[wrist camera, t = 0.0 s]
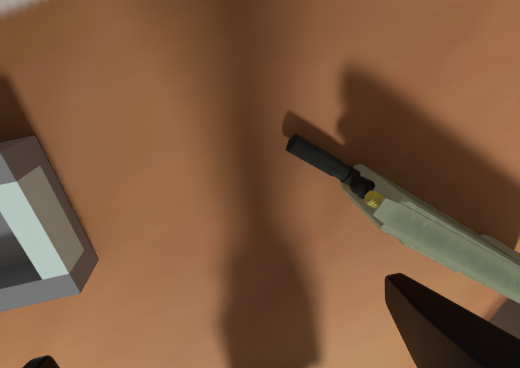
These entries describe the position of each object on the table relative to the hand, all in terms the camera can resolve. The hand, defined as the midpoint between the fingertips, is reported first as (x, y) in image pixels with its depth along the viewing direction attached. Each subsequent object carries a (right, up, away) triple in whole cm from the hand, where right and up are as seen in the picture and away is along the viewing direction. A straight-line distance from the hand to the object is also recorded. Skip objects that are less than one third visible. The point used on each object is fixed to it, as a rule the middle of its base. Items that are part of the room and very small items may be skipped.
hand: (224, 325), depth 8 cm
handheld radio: (+13, +2, +18) cm, 22 cm away
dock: (-17, +1, +13) cm, 22 cm away
